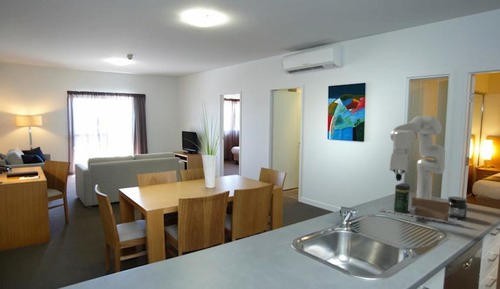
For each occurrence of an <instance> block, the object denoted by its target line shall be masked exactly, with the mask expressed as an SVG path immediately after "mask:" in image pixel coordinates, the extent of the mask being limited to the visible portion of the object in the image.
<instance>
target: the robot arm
mask: <svg viewBox="0 0 500 289" xmlns="http://www.w3.org/2000/svg"><path fill="white" fill-rule="evenodd" d="M441 132H442V125H441V122H440V121H439V120H438V118H437V117H435V116H432V115H417V116H415V117H413V119H412V120H410V121H409V122H408V123H404V124H401V125H398V126H396V127H394V129H393V130H392V131H391V133H390V136H389V137H390V140H391V141H392V143H393V145H392V147H393V148H392V150H393V151H392V152H391V156H390V162H389V163H390V164H389V171H391V172H393V173H394V174H395V180H396V181H397V182H398V181H399V182H401V180H402V178H403V177H402V175H403V174H404V173H408V172H410V170H409V167H410V158H409V153H410V149H408V143H409V144H410V143H413V142H414V141H415V140H416V138H417V136H418V139H419V144H418V145H419V151H418V153H419V156H420V157H421V158H420V159H418V160H417V162H416V169H417V183H416V197H417V198H423V199H430V200H433V199H432V193H433V192H432V190H433V176H432V175H431V174H430V173H432V174H443V173H444V171H445V168H446V166H445V165H446V161H445V160H446V149H445V148H444V146H443V145H439V144H434V137H433V135H434V136H437V135H440V134H441Z"/></svg>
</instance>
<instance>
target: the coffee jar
mask: <svg viewBox="0 0 500 289" xmlns="http://www.w3.org/2000/svg"><path fill="white" fill-rule="evenodd" d="M394 190H395V191H394V205H393V211H397V212H403V213H407V212H408V211H409V199H410V185H409V183H404V182H402V183H398V184H396V185H395V188H394Z"/></svg>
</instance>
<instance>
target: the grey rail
mask: <svg viewBox="0 0 500 289" xmlns="http://www.w3.org/2000/svg"><path fill="white" fill-rule="evenodd" d="M378 211H379V212H383V211H385V212H384V213H389V212H391V213H390V214H394V213H396V214H395V215H400V214H401V215H400V216H405V215H407V216H406V217H411V216H413V217H412V218H416V217H419V218H418V219H422V218H424V219H423V220H427V219H430V220H429V221H432V220H435V221H434V222H438V221H441V222H440V223H443V222H446V223H445V224H449V223H451V224H450V225H454V224H456V225H457V221H458V219H457V218H452V220H448V221H445V220H440V219H434V218H429V217H423V216H418V215H410V213H407V212H405V213H403V212H397V211H394V210H390V209H385V208H384V205H382V204H381V205H380V204H379V206H378Z"/></svg>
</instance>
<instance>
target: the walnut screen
mask: <svg viewBox="0 0 500 289" xmlns="http://www.w3.org/2000/svg"><path fill="white" fill-rule="evenodd" d="M409 214H410V215H418V216H423V217H429V218H434V219H440V220H445V221H449V216H448V215H449V202H448V201H444V200H436V199H435V200H434V199H432V200H430V199H423V198H417V196H412V197H411V208H409Z"/></svg>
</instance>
